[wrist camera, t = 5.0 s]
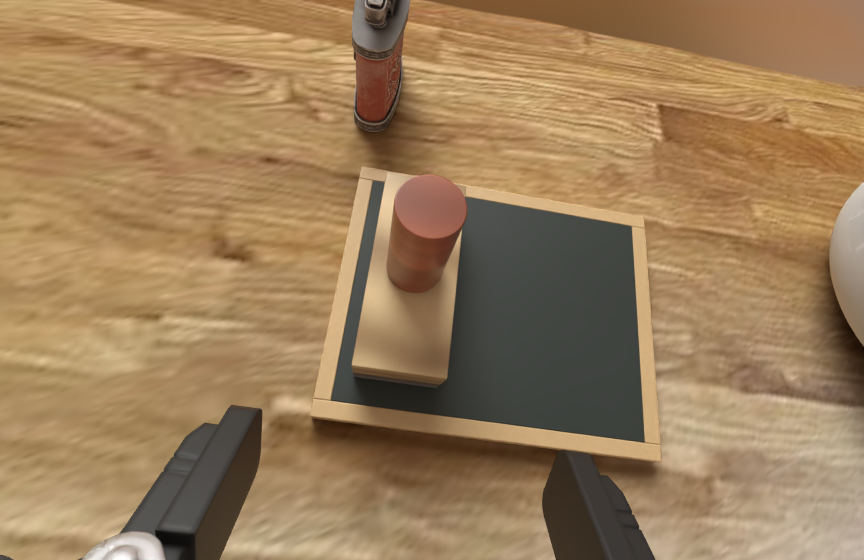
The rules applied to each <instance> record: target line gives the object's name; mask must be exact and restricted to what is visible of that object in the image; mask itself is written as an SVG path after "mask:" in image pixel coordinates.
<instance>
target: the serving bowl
mask: <svg viewBox="0 0 864 560" xmlns="http://www.w3.org/2000/svg"><path fill="white" fill-rule="evenodd" d="M829 263H830V273H831V278H832V283H833V287H834V290H835V293H836V297H837V299H838V302H839V304H840V307H841V309H842V312H843V314H844V316H845V318H846V320H847V322H848V323H849V325H850V327H851V328H852V330H853V332H854V333H855V335H856V336H857V338H858V339H859V341H860V342H861V343H862V345H863V346H864V182H863V183H862V184H861V185H860V186H859V187H858V188H857V189H856V190H855V191H854V192H853V194H852V195H851V196H850V197H849V199H848V200H847V201H846V203H845V204H844V206H843V208H842V209H841V211H840V213H839V215H838V217H837V220H836V222H835V225H834V228H833V232H832V235H831V241H830V249H829Z"/></svg>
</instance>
